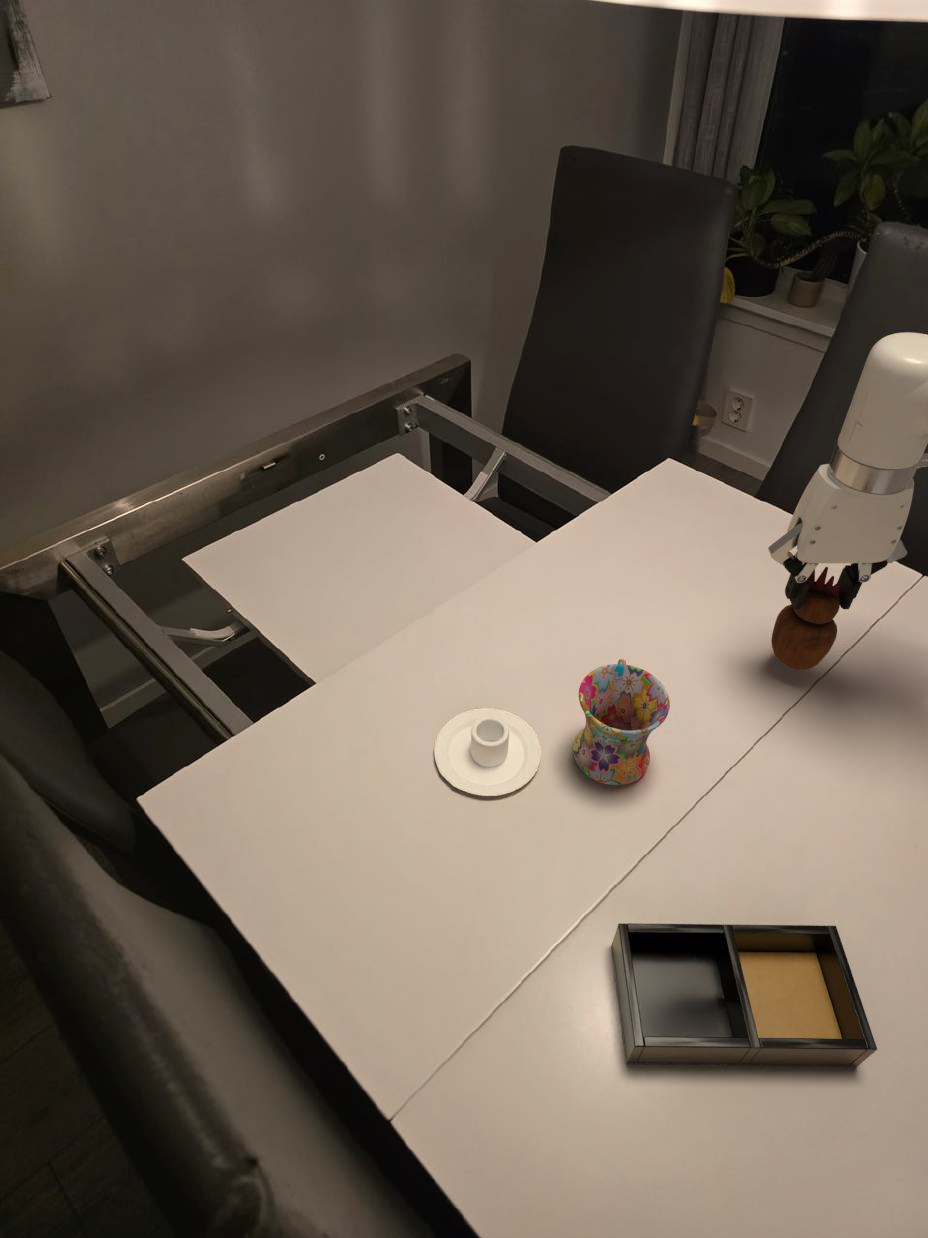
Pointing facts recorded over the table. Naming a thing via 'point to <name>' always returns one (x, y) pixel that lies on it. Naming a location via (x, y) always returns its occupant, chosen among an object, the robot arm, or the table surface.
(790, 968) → the divided tray
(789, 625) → the wooden figurine
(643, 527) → the table surface
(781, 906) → the table surface
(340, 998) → the table surface
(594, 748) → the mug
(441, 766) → the candle holder
